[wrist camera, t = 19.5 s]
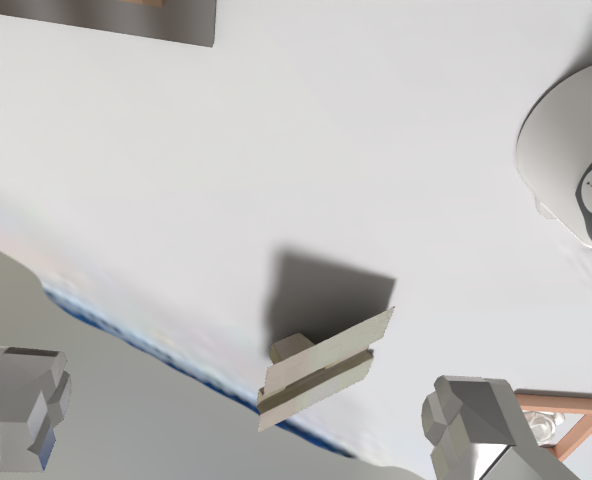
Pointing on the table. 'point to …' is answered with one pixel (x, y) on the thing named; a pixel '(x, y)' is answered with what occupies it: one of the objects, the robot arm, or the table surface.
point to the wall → (316, 368)
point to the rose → (543, 424)
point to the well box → (126, 17)
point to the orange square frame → (562, 405)
